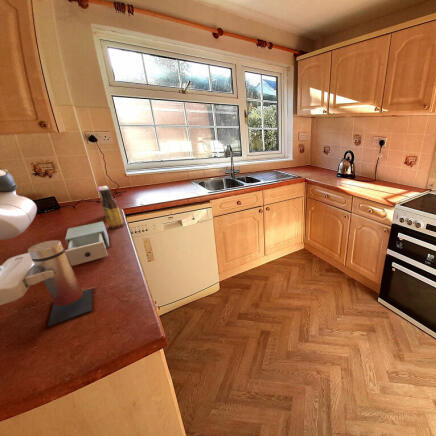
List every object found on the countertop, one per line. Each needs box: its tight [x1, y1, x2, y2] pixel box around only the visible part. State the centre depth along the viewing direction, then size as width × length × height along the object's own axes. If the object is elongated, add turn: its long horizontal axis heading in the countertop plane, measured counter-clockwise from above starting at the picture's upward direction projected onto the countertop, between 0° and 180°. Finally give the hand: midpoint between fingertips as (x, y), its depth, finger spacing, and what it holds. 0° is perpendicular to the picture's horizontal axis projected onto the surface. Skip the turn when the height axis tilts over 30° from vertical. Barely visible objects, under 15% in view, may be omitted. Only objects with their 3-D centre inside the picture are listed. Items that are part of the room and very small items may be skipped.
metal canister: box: [27, 239, 83, 306], centre depth 66 cm, size 6×6×17 cm
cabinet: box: [64, 220, 110, 249], centre depth 103 cm, size 13×12×8 cm
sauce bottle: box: [100, 187, 124, 230], centre depth 120 cm, size 6×6×20 cm
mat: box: [47, 288, 93, 328], centre depth 70 cm, size 9×12×1 cm
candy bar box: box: [96, 185, 109, 202], centre depth 136 cm, size 11×5×16 cm, turn 38°
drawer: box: [65, 233, 109, 267], centre depth 95 cm, size 14×11×6 cm
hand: (58, 265), depth 65 cm, fingers closed on metal canister, 6 cm apart
